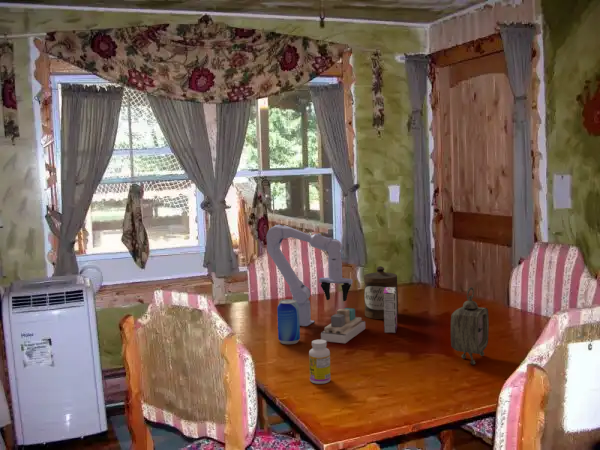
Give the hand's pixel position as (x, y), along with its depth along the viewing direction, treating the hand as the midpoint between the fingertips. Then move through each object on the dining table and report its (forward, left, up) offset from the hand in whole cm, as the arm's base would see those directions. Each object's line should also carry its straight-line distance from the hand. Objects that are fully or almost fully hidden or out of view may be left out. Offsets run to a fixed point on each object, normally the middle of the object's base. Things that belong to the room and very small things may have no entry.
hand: (336, 300), depth 264 cm
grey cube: (+9, -19, -5) cm, 22 cm away
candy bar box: (+24, 0, -11) cm, 26 cm away
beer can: (-7, -30, -11) cm, 33 cm away
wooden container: (+13, +21, -11) cm, 27 cm away
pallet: (+9, -14, -7) cm, 18 cm away
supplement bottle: (+22, -65, -11) cm, 69 cm away
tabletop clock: (+61, -27, -11) cm, 67 cm away
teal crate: (+9, -8, -5) cm, 13 cm away
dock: (+9, -14, -10) cm, 19 cm away
